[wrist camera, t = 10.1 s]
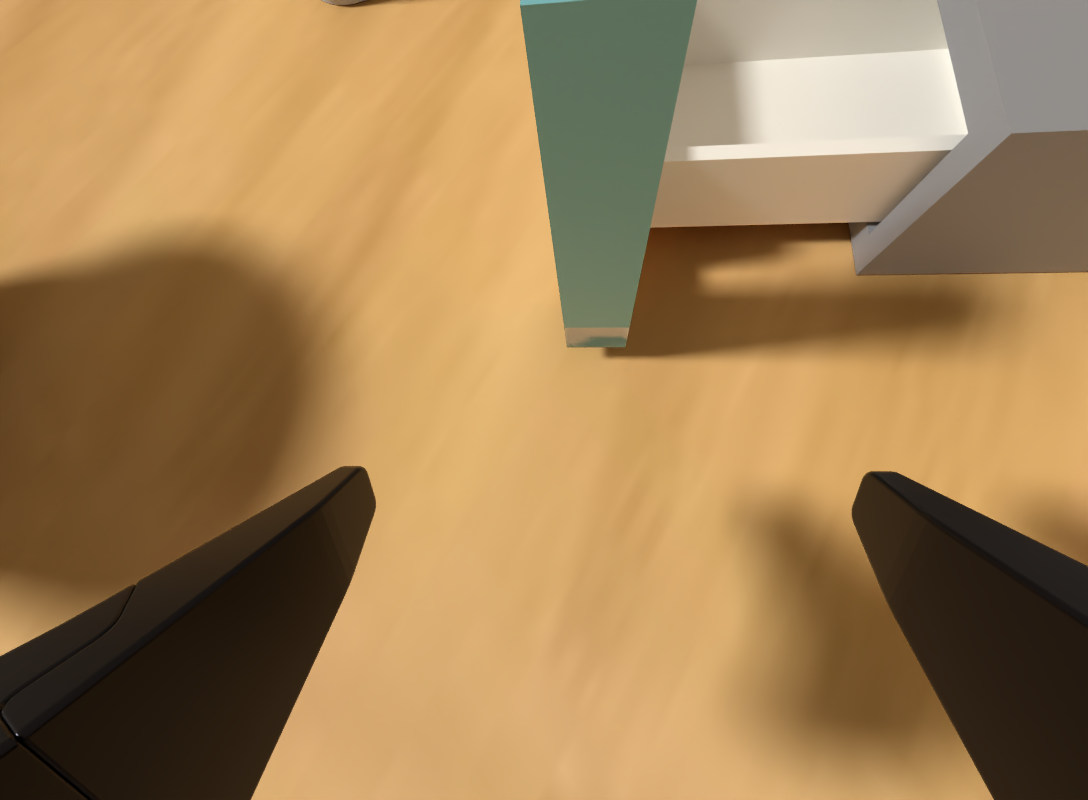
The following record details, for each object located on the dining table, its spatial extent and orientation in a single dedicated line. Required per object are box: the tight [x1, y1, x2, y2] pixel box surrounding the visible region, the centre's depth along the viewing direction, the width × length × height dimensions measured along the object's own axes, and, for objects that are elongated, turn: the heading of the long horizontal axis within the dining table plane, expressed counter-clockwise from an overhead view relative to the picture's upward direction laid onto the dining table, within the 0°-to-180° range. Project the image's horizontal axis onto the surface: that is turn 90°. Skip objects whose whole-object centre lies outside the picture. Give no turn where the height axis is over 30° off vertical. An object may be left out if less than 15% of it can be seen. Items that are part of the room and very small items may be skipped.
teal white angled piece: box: [520, 0, 968, 347], centre depth 14 cm, size 17×16×13 cm
